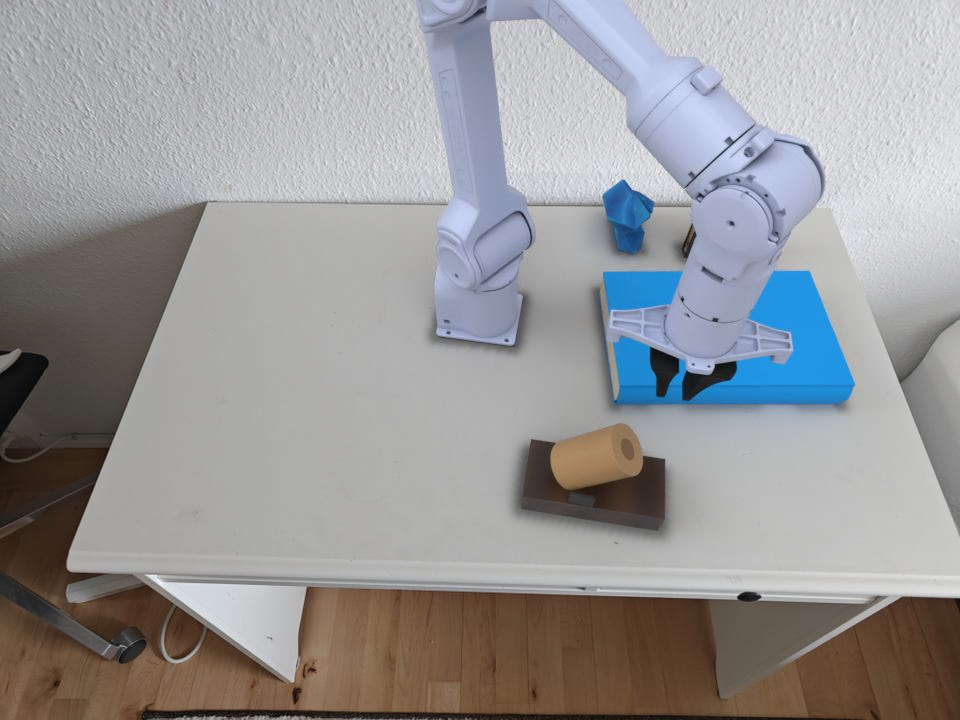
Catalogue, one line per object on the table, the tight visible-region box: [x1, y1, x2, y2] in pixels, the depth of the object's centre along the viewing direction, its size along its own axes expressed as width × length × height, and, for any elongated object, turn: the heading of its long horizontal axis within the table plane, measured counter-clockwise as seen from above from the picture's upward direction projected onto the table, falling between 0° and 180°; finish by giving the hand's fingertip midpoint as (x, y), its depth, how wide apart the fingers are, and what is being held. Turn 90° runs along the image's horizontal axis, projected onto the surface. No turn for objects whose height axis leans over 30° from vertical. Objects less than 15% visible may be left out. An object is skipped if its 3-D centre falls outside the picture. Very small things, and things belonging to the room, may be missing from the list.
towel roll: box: [551, 422, 644, 490], centre depth 59 cm, size 7×5×5 cm
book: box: [598, 270, 856, 405], centre depth 73 cm, size 17×4×25 cm
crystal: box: [601, 179, 655, 255], centre depth 82 cm, size 7×9×12 cm
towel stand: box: [520, 438, 666, 531], centre depth 63 cm, size 14×6×5 cm, turn 80°
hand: (672, 390), depth 59 cm, fingers closed
